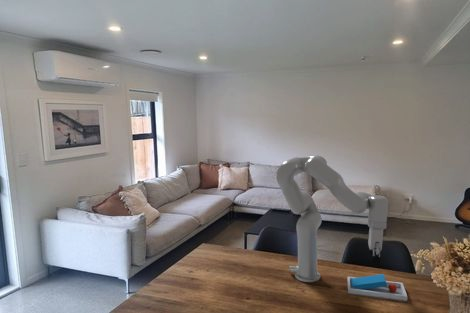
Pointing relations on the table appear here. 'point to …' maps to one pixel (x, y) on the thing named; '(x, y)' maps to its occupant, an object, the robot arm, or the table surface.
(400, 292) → the tray
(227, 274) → the table surface
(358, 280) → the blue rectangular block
